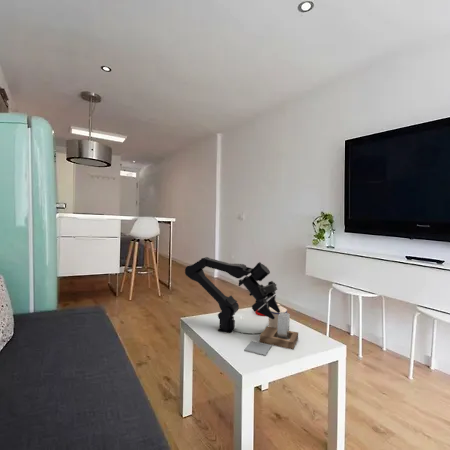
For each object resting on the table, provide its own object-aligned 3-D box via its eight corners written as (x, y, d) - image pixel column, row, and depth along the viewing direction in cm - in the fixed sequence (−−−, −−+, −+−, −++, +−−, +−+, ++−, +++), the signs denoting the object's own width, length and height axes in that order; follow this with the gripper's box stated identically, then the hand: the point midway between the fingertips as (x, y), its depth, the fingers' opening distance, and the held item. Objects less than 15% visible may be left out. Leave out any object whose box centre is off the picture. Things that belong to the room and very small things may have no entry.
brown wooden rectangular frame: (259, 342, 125) (259, 335, 125) (266, 332, 135) (267, 326, 135) (293, 349, 119) (293, 342, 119) (298, 339, 129) (298, 332, 128)
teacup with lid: (281, 332, 135) (282, 308, 134) (264, 327, 140) (265, 304, 140) (292, 325, 144) (293, 302, 144) (276, 320, 150) (276, 298, 149)
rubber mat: (243, 350, 117) (244, 349, 117) (251, 341, 125) (251, 340, 125) (265, 356, 113) (265, 354, 113) (271, 346, 121) (271, 345, 121)
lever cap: (277, 342, 125) (277, 315, 124) (279, 338, 129) (280, 312, 129) (286, 344, 123) (287, 317, 122) (288, 340, 127) (289, 313, 127)
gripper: (259, 280, 120) (285, 311, 116) (272, 272, 137) (294, 299, 133) (241, 296, 123) (265, 326, 119) (255, 286, 140) (277, 312, 136)
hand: (276, 315), depth 127 cm, fingers open, 9 cm apart
